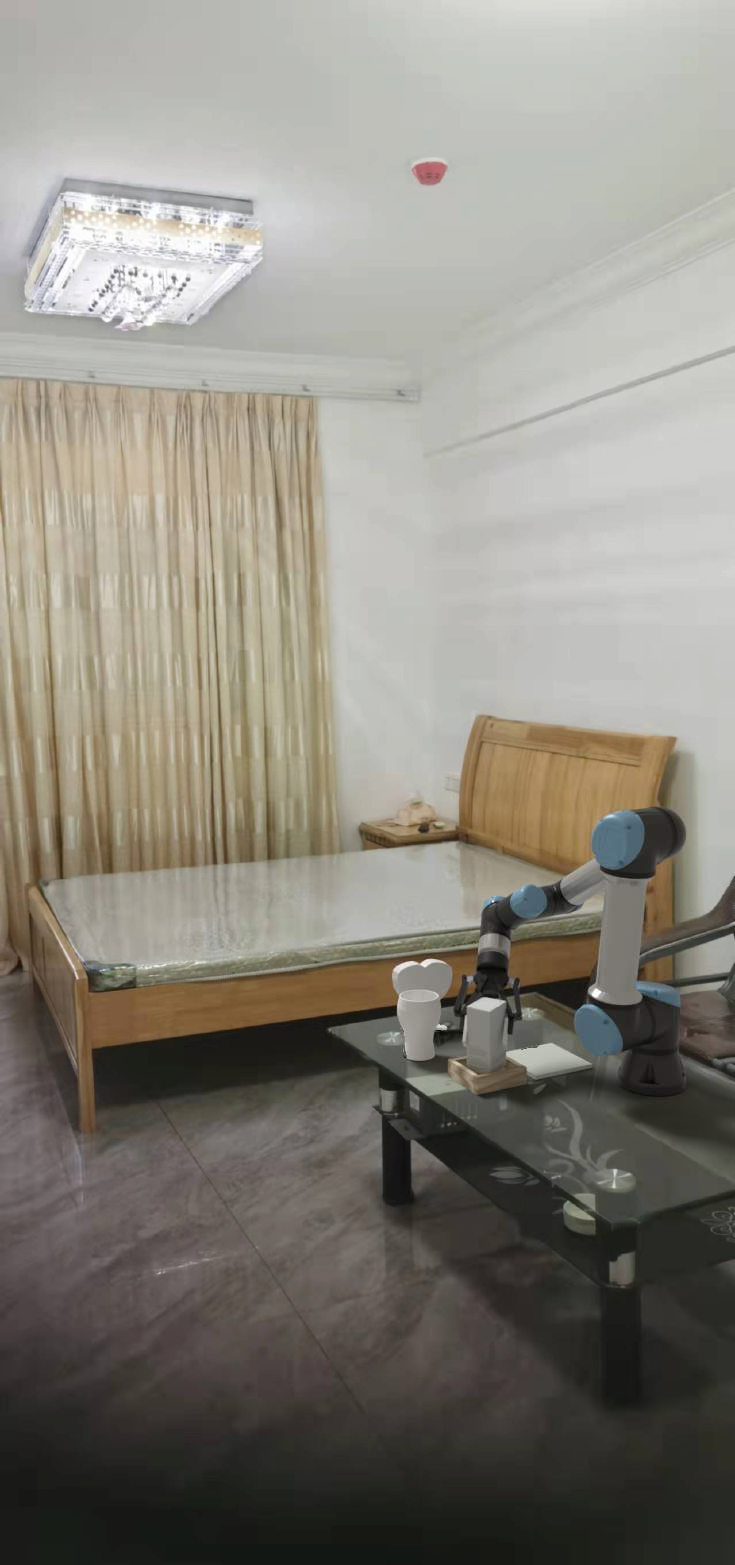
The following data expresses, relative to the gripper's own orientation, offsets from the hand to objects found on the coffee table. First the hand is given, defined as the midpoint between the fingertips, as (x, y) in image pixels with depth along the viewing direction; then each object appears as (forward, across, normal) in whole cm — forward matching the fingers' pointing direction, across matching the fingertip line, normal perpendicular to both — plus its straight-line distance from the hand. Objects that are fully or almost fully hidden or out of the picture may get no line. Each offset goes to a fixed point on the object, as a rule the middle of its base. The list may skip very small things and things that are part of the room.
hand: (484, 1045), depth 264 cm
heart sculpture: (-18, +21, -31) cm, 41 cm away
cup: (-4, +18, -18) cm, 25 cm away
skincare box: (+3, 0, -7) cm, 8 cm away
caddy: (+4, 0, -9) cm, 10 cm away
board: (-5, -12, -19) cm, 23 cm away
